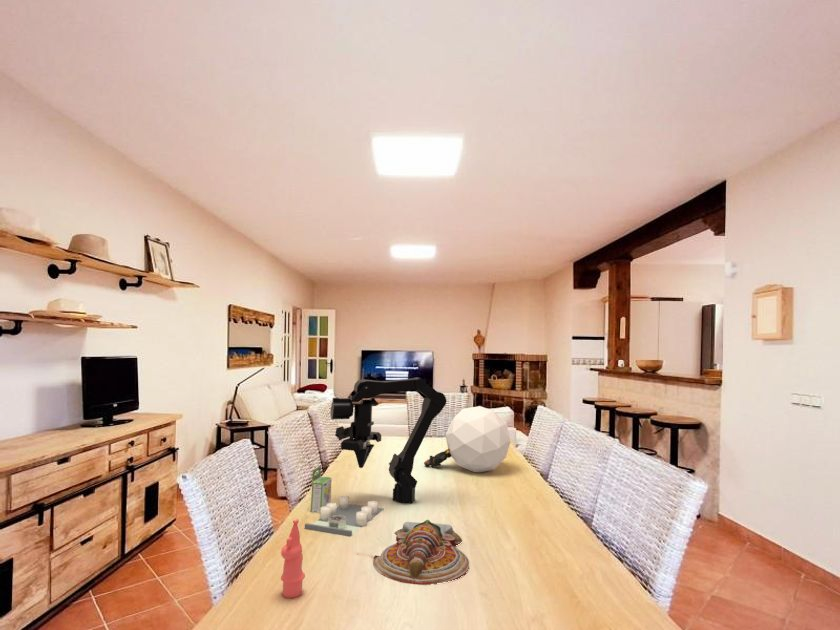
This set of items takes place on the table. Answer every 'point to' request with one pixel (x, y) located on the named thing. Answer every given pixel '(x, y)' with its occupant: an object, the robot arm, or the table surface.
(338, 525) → the star tealight holder
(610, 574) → the table surface
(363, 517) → the spacers
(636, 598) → the table surface
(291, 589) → the figurine
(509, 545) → the table surface
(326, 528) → the slate board
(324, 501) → the ink box
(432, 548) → the decorative mask
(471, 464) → the light fixture
